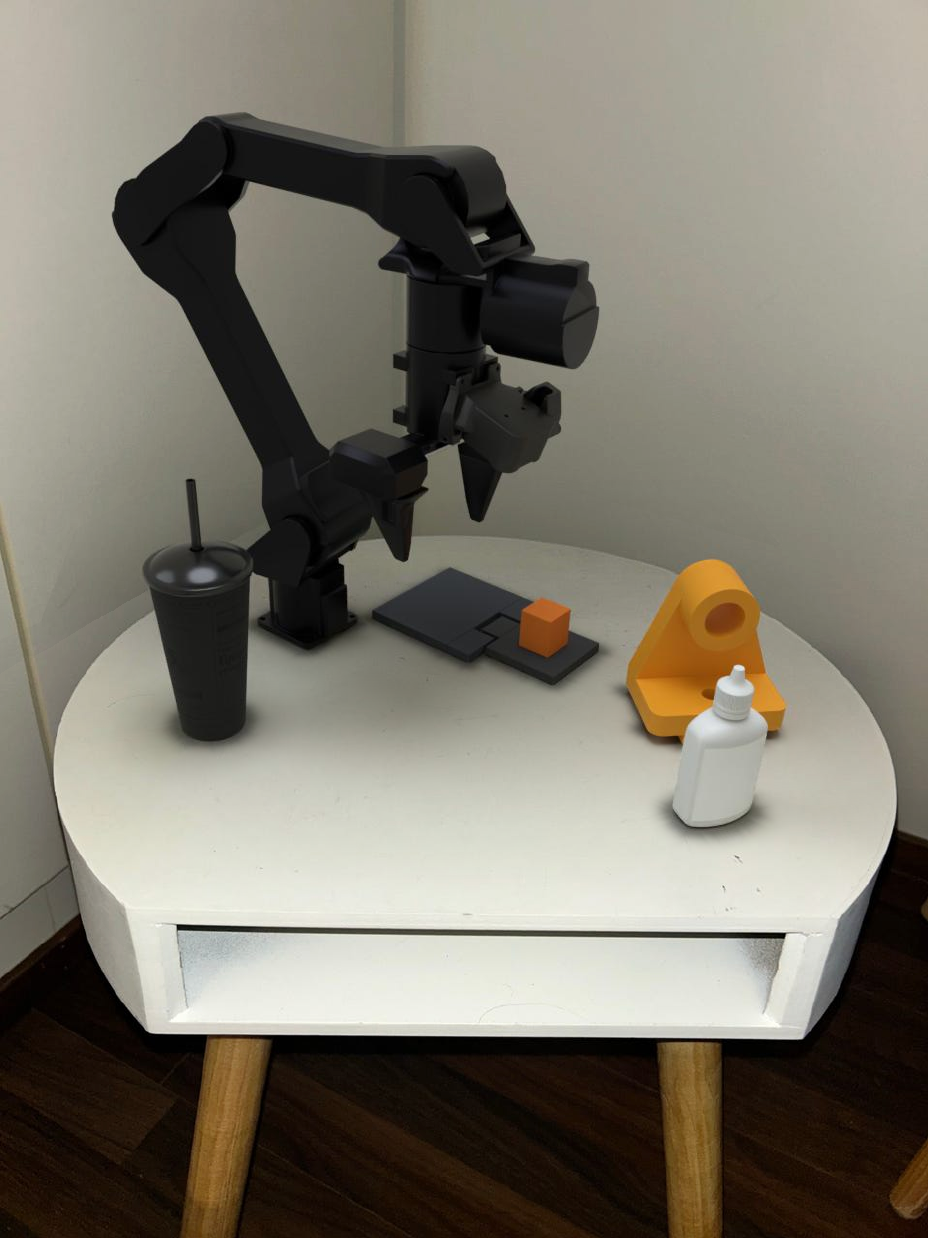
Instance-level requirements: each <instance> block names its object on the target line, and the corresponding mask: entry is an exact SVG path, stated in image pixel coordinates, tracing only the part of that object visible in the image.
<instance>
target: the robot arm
mask: <svg viewBox="0 0 928 1238" xmlns="http://www.w3.org/2000/svg"><path fill="white" fill-rule="evenodd" d="M497 162H498V161H497V158H496V156H495V155H494V154H492V153H491V152H490V151H488V150H487V149H485V148H482V147H481V146H478V145H472V144H471V145H470V144H469V145H468V144H467V145H466V144H454V145H453V144H449V145H448V144H444V145H443V144H440V145H439V144H436V145H435V144H433V145H432V144H431V145H415V146H414V145H413V146H412V145H411V146H380V145H377V144H372V143H369V142H364V141H358V140H354V139H351V138H347V137H342V136H337V135H332V134H329V133H328V134H327V133H323V132H319V131H314V130H310V129H305V128H301V127H297V126H292V125H287V124H284V123H279V122H275V121H270V120H265V119H260V118H259V117H257V116H254V115H253V114H251V113H248V112H246V111H237V112H236V111H235V112H229V113H221V114H213V115H207V116H204V117H202V118H201V119H199V120H198V122H196V123H195V124H193V125H192V127H191V128H190V129H189V130H188V131H187V133H186V134H185V135H184V136H183V138H181V140H180V141H179V142H177V143H176V144H175V145H173V146H172V147H170V148H169V149H168V150H167V151H165V152H164V153H162V154H161V155H160V156H158V157H157V158H155V159H154V160H153V161H151V162H150V163H149V164H148V165H146V166H145V167H144V168H143V169H142V170H141V171H140V172H139V173H138V174H137V176H136V177H133V178H130V179H128V180H125V181H123V183H122V184H121V185H120V186H119V187H118V189H117V192H116V194H115V197H114V207H113V210H112V211H111V218H112V224H113V227H114V230H115V232H116V234H117V236H118V238H119V239H120V241H121V243H122V244H123V246H124V247H125V249H126V250H127V252H128V253H129V255H130V256H131V258H132V259H133V261H134V262H135V264H136V265H137V266H138V268H139V270H140V271H141V273H142V274H143V275H144V276H146V277H147V278H149V280H151V281H152V282H153V283H155V284H156V285H158V287H160V288H161V289H163V290H164V291H165V292H167V293H168V294H169V295H170V296H172V297H173V298H174V299H175V300H176V301H177V302H178V304H179V306H180V308H181V310H182V311H183V313H184V316H185V317H186V320H187V321H188V324H189V325H190V327H191V329H192V332H193V333H194V335H195V337H196V339H197V341H198V343H199V345H200V346H201V349H202V351H203V353H204V355H205V357H206V359H207V361H208V362H209V365H210V366H211V369H212V371H213V373H214V374H215V377H216V378H217V381H218V382H219V384H220V387H221V389H222V391H223V392H224V394H225V397H226V398H227V400H228V402H229V404H230V407H231V409H232V410H233V412H234V414H235V416H236V418H237V420H238V422H239V424H240V426H241V428H242V430H243V432H244V434H245V436H246V438H247V440H248V442H249V444H250V446H251V447H252V450H253V451H254V454H255V456H256V458H257V460H258V461H259V464H260V466H261V508H262V511H263V514H264V516H265V520H266V522H267V524H268V527H269V530H268V531H267V532H266V533H264V534H263V535H261V537H260V538H259V539H257V540H256V541H255V542H253V544H252V545H250V546H249V547H248V548H247V549H246V550H247V551H248V552H249V553H250V554H251V556H252V558H253V561H254V570H253V573H252V574H255V575H256V576H260V577H263V578H265V579H267V581H268V582H267V584H268V598H269V599H268V601H269V611H268V612H266V613H264V614H262V615H260V616H258V617H257V618H256V623H257V624H256V625H258V626H260V627H262V628H263V629H265V630H267V631H270V632H271V633H273V634H275V635H277V636H280V637H281V638H283V639H286V640H287V641H289V642H291V643H293V644H295V645H297V646H299V647H301V648H304V649H311V648H313V647H315V646H317V645H319V644H320V643H323V642H324V641H326V640H328V639H329V638H331V637H333V636H335V635H337V634H339V633H340V632H342V631H344V630H345V629H347V628H349V627H351V626H352V625H354V624H356V623H358V621H359V616H358V614H356V613H354V612H352V611H349V610H348V609H349V608H348V607H349V605H348V604H349V603H348V602H349V601H348V600H349V599H348V585H347V584H346V581H345V580H346V579H345V578H346V577H345V565H344V564H343V563H340V559H339V558H342V557H343V556H344V555H346V554H347V553H349V552H353V551H354V550H355V549H356V548H357V545H358V542H359V540H360V539H361V538H362V537H364V536H365V535H367V532H368V531H369V530H370V528H371V524H372V521H373V520H374V522H375V524H376V526H377V527H378V529H379V531H380V534H381V535H382V537H383V539H384V541H385V543H386V545H387V547H388V549H389V551H390V553H391V555H392V557H393V558H394V559H395V560H397V561H399V562H401V563H406V562H407V561H409V557H410V552H411V547H412V537H413V536H412V534H413V525H414V512H415V504H416V502H417V501H419V499H420V498H422V497H423V496H424V495H425V494H426V493H428V491H429V490H430V488H429V487H426V486H424V485H423V484H424V482H425V480H426V478H427V476H428V473H429V460H428V458H430V457H432V456H435V455H437V454H439V453H442V452H444V451H446V450H449V449H451V448H453V447H455V446H457V452H458V458H459V464H460V472H461V477H462V483H463V491H464V498H465V502H466V503H465V504H466V507H467V511H468V515H469V519H470V520H471V521H474V522H477V523H482V522H483V521H484V520H485V517H486V515H487V513H488V510H489V507H490V505H491V503H492V500H493V497H494V495H495V493H496V490H497V487H498V485H499V482H500V480H501V477H502V475H503V474H513V473H516V472H518V470H519V469H520V468H523V467H524V466H526V465H528V464H531V463H536V462H538V461H539V460H540V458H541V457H542V454H543V452H544V449H545V447H546V445H547V442H548V440H549V439H551V438H553V437H556V436H558V435H560V433H561V432H562V426H561V424H560V421H561V419H562V417H561V416H562V391H561V390H560V389H559V388H557V386H555V385H553V384H552V383H551V382H549V381H544V382H541V383H539V384H536V385H535V386H532V387H531V388H529V389H528V390H525V389H524V388H523V387H522V386H520V385H519V386H517V387H515V386H512V385H508V384H505V383H503V382H502V376H501V372H502V365H501V363H500V362H499V356H496V355H494V354H490V353H487V346H489V347H490V349H491V350H492V351H493V352H494V353H495V354H497V355H500V356H505V357H510V358H516V359H520V360H524V361H530V362H533V363H539V364H544V365H549V366H553V367H558V368H563V369H566V370H567V369H568V370H576V369H578V368H580V367H581V366H582V365H583V363H584V362H585V360H586V359H587V358H588V356H589V354H590V351H591V349H592V347H593V344H594V341H595V338H596V334H597V331H598V325H599V318H600V306H598V305H597V304H598V302H597V294H596V289H595V287H594V285H593V283H592V282H591V281H590V280H589V278H590V277H589V276H590V273H589V272H590V263H589V262H588V261H587V260H582V259H576V258H565V259H556V258H551V257H546V256H540V255H539V256H538V255H534V254H536V253H535V252H536V246H535V244H534V242H533V240H532V239H531V237H530V235H529V233H528V231H527V229H526V227H525V226H524V223H523V221H522V220H521V217H520V216H519V213H518V212H517V210H516V208H515V206H514V205H513V203H512V201H511V198H510V196H509V195H508V193H507V183H506V180H505V177H504V172H503V171H502V169H501V167H500V166H499V164H498V163H497ZM250 183H253V184H257V185H261V186H265V187H269V188H273V189H277V190H280V191H281V190H282V191H285V192H290V193H292V194H297V195H301V196H305V197H309V198H312V199H313V198H314V199H316V200H317V199H318V200H321V201H325V202H329V203H333V204H336V205H340V206H344V207H349V208H352V209H355V210H357V211H359V212H361V213H363V214H365V215H367V216H368V217H369V218H370V219H372V221H373V222H375V224H377V225H378V227H380V228H381V229H382V230H384V231H385V232H388V233H389V234H392V235H394V236H396V237H398V240H397V242H396V243H395V245H394V246H393V247H392V248H391V249H390V250H389V251H388V252H387V253H386V254H384V255H383V256H382V257H380V258H379V259H378V261H377V266H378V268H379V269H380V270H383V271H387V272H393V273H398V274H404V275H405V349H404V350H401V351H398V352H395V353H392V369H395V370H399V371H403V372H404V404H403V405H400V406H398V407H395V408H393V409H392V423H393V424H396V425H399V426H402V427H405V428H406V433H408V434H406V435H403V436H401V437H398V436H395V435H392V434H389V433H387V432H384V431H380V430H378V429H375V428H372V427H371V428H368V429H365V430H363V431H361V432H358V433H356V434H352V435H350V436H347V437H345V438H342V439H340V440H338V441H337V442H336V443H334V445H332V446H331V447H330V448H327V447H326V446H325V445H323V444H322V443H321V442H320V441H319V440H318V439H317V437H316V435H315V433H314V431H313V430H312V428H311V425H310V423H309V421H308V419H307V417H306V415H305V413H304V411H303V409H302V407H301V405H300V403H299V401H298V399H297V397H296V395H295V393H294V391H293V389H292V387H291V384H290V382H289V380H288V378H287V377H286V375H285V374H286V373H285V372H284V370H283V368H282V366H281V364H280V362H279V360H278V358H277V356H276V354H275V352H274V350H273V348H272V345H271V344H270V342H269V340H268V338H267V336H266V334H265V331H264V330H263V328H262V325H261V324H260V321H259V319H258V316H257V315H256V313H255V311H254V309H253V306H252V305H251V303H250V301H249V298H248V297H247V295H246V293H245V291H244V289H243V287H242V284H241V282H240V281H239V277H238V276H237V272H236V269H237V268H236V267H237V266H236V265H237V233H236V230H235V226H234V224H233V221H232V218H231V215H230V213H231V211H232V210H233V209H234V208H235V207H236V206H237V205H238V204H239V203H240V202H241V201H242V200H243V198H244V197H245V196H246V193H247V191H248V188H249V185H250ZM483 234H484V235H485V236H487V239H484V240H482V241H479V242H476V243H473V241H472V240H473V239H472V238H474V237H477V236H480V235H483ZM372 519H373V520H372Z"/></svg>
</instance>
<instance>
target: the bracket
mask: <svg viewBox="0 0 928 1238" xmlns="http://www.w3.org/2000/svg"><path fill="white" fill-rule="evenodd" d="M760 609H761V608H760V605H759V602H758V601H757V600H756V598H755V597H754V596H753V594H752V593H751V591H750V590H749V588H748V587H747V586H746V584H745V583H744V581H743V580H742V578H741V577H740V576H739V574H738V573H737V572H736V570H735V569H734V567H732V566H731V564H729V563H727V562H725V561H723V560H720V559H715V558H713V559H710V558H709V559H703V560H700V561H696V562H694V563H692V564H690V565H689V566H687V567H685V569H683V570H682V572H680V574H678V576H677V577H676V579H675V580H674V582H673V584H672V586H671V587H670V589H669V591H668V593H667V594H666V597H665V598H664V600H663V602H662V604H661V605H660V607H659V608H658V610H657V612H656V614H655V616H654V617H653V620H652V621H651V622H650V625H649V627H648V628H647V630H646V632H645V634H644V636H643V637H642V639H641V641H640V642H639V644H638V646H637V648H636V650H635V652H634V653H633V655H632V657H631V659H630V660H629V662H628V664H627V671H626V679H625V685H626V687H627V689H628V691H629V693H630V696H631V698H632V701H633V702H634V704H635V707H636V709H637V711H638V713H639V715H640V717H641V720H642V722H643V725H644V726H645V729H646V730H647V732H648V733H650V734H651V735H653V736H656V737H678V738H679V741H680V743H681V745H683V743H684V738H685V733H686V730H687V727H688V725H689V723H690V722H691V721H692V720H693V719H694V718H696V717H697V716H698V715H699V714H701V713H702V712H704V711H705V710H707V709H709V708H711V707H713V701H714V696H715V691H716V685H717V682H718V680H719V679H720V678H722V677H725V676H730V674H731V672H732V670H733V668H734V666H735V665H741V666H743V667H744V668H745V679H746V680H748V681H749V682H751V683H752V685H753V686H754V694H753V699H752V704H751V708H753V709H754V710H756V711H757V712H758V713H759V714H760V715H761V716H762V717H763V718H764V719H765V720H766V722H767V725H768V730H767V732H771V731H774V732H775V731H778V730H780V729H781V728H782V727H783V722H784V717H785V714H786V709H787V702H786V700H784V697H782V695H781V694H780V692H779V691H778V689H777V687H776V686H775V685H774V683H773V681H772V680H771V678H770V677H769V675H768V674H767V670H766V666H765V661H764V658H763V653H762V649H761V644H760V640H759V635H758V630H757V628H758V627H759V626H758V625H759V624H760V620H761V610H760Z"/></svg>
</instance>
